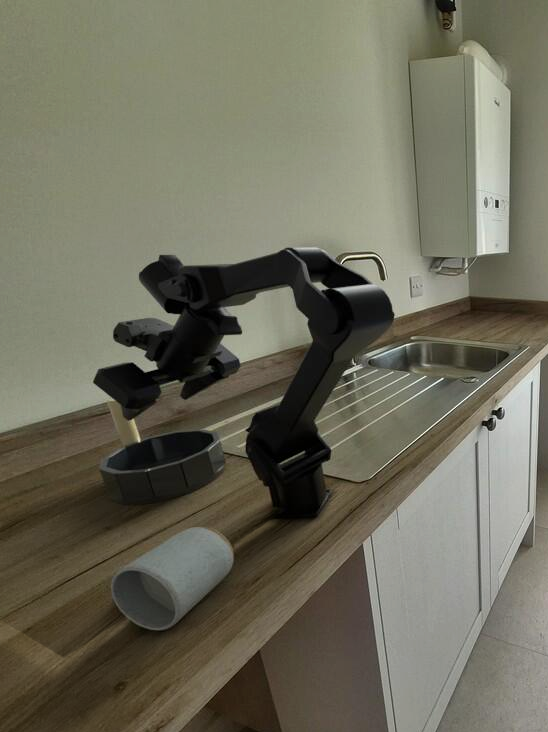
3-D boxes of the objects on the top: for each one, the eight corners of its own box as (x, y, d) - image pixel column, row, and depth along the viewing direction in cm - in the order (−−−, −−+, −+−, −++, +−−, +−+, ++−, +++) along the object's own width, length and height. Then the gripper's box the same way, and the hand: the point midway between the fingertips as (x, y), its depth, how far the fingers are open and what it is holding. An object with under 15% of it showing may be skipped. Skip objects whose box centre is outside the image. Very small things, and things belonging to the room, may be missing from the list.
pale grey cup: (246, 574, 49) (230, 519, 46) (186, 635, 41) (164, 574, 39) (168, 567, 50) (149, 514, 48) (95, 625, 42) (68, 565, 40)
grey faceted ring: (246, 464, 71) (229, 395, 67) (149, 513, 58) (121, 431, 54) (182, 449, 77) (162, 384, 73) (81, 490, 64) (50, 414, 60)
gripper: (206, 293, 68) (170, 359, 73) (76, 306, 50) (41, 392, 55) (260, 338, 69) (220, 400, 74) (151, 367, 51) (109, 446, 56)
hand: (156, 407), depth 65 cm, fingers open, 9 cm apart
